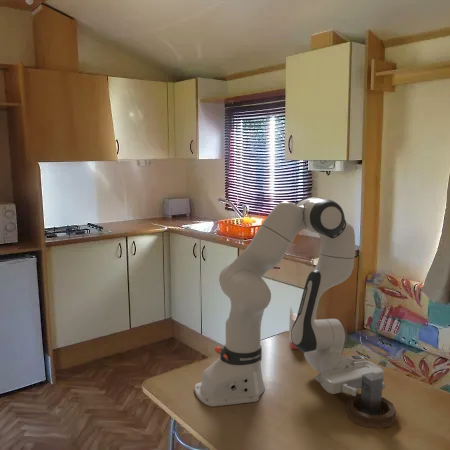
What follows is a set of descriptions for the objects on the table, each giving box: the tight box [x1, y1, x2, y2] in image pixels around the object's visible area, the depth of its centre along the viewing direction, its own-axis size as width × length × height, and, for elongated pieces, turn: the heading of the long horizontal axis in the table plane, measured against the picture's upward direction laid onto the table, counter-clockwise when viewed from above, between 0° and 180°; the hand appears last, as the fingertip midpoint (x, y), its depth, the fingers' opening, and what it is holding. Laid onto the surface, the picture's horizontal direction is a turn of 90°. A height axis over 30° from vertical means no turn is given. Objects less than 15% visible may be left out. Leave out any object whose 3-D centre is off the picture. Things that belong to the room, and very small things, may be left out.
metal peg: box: [359, 372, 384, 415], centre depth 136 cm, size 4×4×12 cm
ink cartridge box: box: [288, 306, 299, 350], centre depth 185 cm, size 9×5×15 cm, turn 178°
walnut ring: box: [345, 393, 397, 430], centre depth 137 cm, size 13×13×3 cm
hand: (369, 390), depth 136 cm, fingers open, 8 cm apart
